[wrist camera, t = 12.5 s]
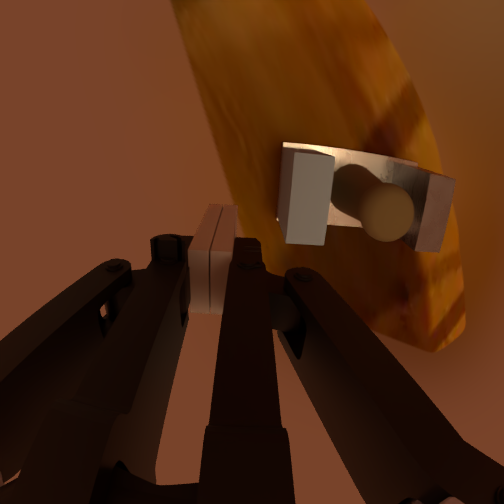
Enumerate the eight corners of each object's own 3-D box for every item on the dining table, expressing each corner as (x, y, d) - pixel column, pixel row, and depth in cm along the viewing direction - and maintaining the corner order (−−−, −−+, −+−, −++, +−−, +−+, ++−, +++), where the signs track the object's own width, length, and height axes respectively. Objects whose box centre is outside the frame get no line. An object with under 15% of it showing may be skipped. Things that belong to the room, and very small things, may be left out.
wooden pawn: (383, 198, 32) (432, 229, 22) (342, 223, 34) (378, 264, 24) (362, 154, 30) (410, 169, 20) (318, 180, 32) (350, 205, 22)
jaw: (283, 146, 30) (294, 152, 23) (314, 149, 30) (335, 156, 23) (277, 216, 33) (285, 243, 26) (307, 218, 34) (323, 245, 26)
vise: (282, 141, 31) (295, 146, 23) (413, 161, 32) (456, 174, 23) (275, 218, 35) (285, 248, 26) (401, 228, 35) (438, 256, 27)
